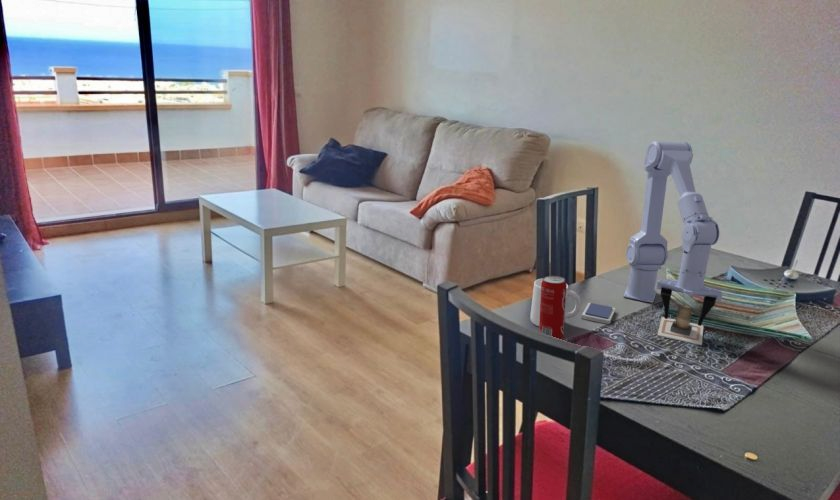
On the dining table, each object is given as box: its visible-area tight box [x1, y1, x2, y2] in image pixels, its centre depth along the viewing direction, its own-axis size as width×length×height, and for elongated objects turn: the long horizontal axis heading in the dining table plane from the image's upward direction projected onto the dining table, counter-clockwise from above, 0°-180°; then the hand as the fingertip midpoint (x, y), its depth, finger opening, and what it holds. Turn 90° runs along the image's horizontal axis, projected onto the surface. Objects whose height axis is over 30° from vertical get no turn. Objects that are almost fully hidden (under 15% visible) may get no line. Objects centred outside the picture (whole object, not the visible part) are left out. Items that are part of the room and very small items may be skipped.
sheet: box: [656, 316, 704, 346], centre depth 151 cm, size 12×10×1 cm
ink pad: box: [581, 302, 616, 325], centre depth 158 cm, size 9×7×1 cm
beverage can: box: [538, 275, 568, 340], centre depth 142 cm, size 6×6×15 cm
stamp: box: [670, 304, 693, 336], centre depth 150 cm, size 4×4×6 cm
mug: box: [529, 277, 582, 327], centre depth 151 cm, size 12×8×10 cm
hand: (682, 320), depth 150 cm, fingers open, 7 cm apart
